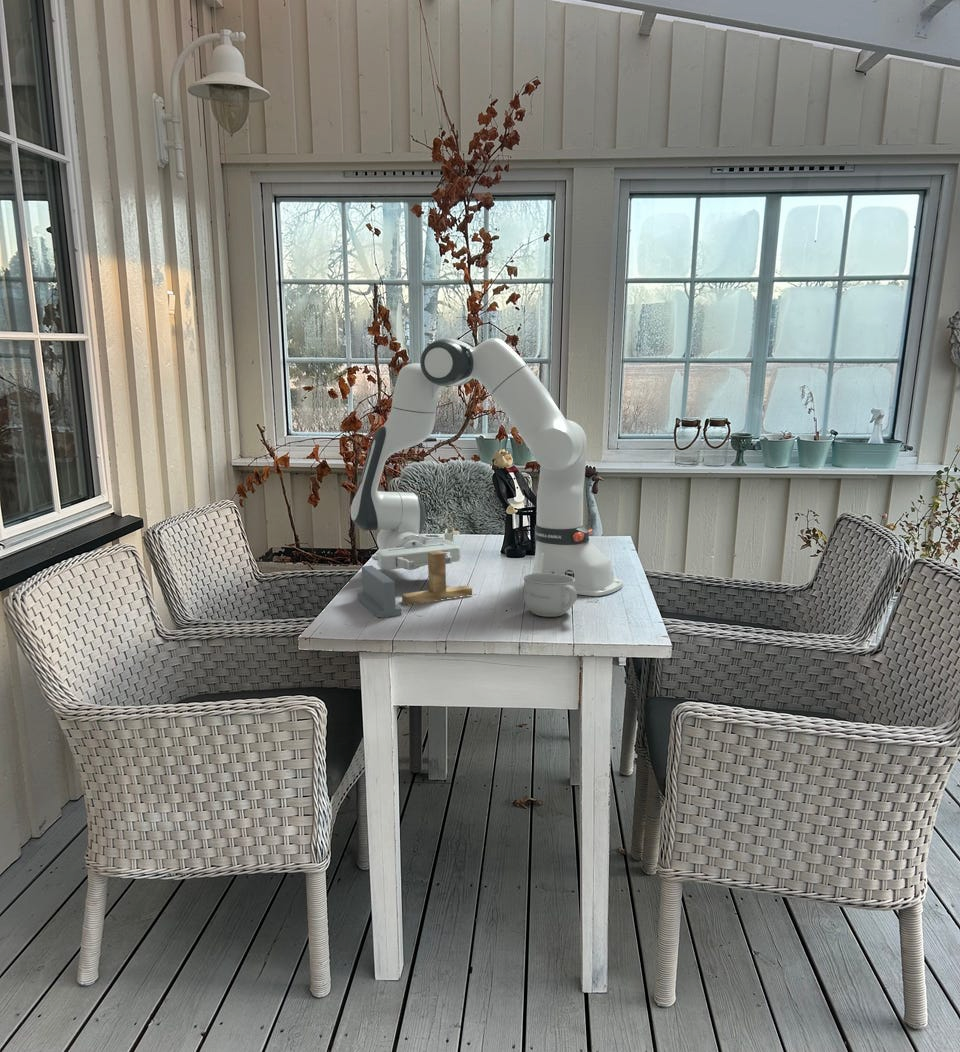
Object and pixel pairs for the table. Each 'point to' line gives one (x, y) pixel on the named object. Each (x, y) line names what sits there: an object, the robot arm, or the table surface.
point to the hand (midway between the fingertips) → (430, 562)
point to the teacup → (549, 593)
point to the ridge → (378, 593)
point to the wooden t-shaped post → (436, 583)
